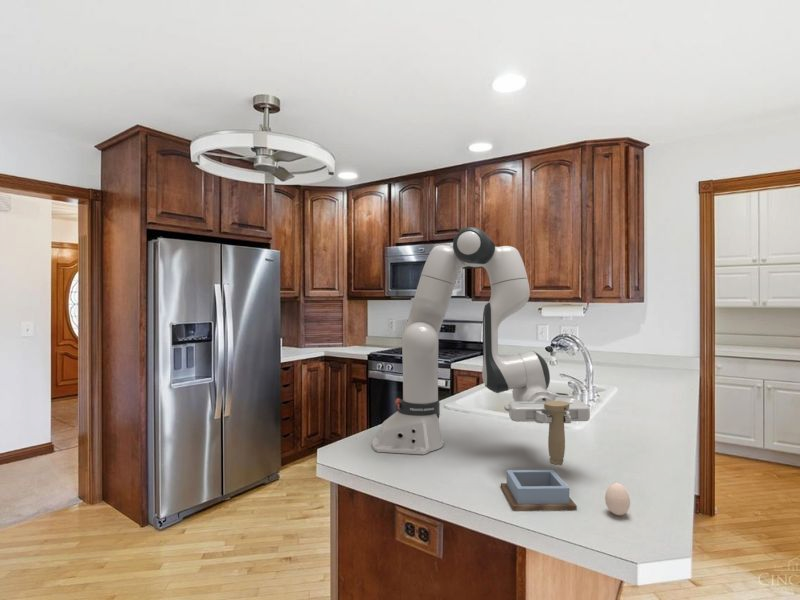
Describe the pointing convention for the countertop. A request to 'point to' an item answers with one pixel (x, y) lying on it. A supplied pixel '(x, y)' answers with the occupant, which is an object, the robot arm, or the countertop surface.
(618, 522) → the countertop surface
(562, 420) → the handle
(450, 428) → the countertop surface
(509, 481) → the square frame
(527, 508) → the board
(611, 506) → the egg
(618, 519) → the countertop surface
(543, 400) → the robot arm
